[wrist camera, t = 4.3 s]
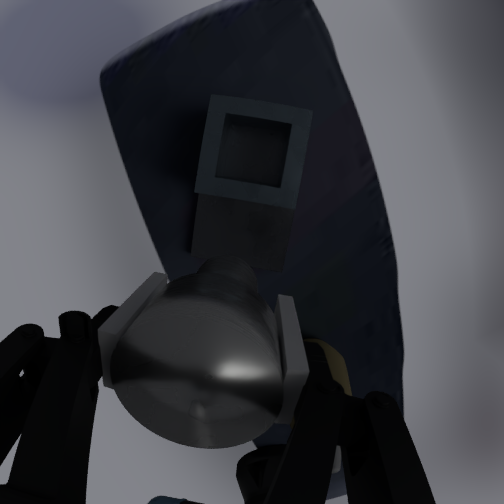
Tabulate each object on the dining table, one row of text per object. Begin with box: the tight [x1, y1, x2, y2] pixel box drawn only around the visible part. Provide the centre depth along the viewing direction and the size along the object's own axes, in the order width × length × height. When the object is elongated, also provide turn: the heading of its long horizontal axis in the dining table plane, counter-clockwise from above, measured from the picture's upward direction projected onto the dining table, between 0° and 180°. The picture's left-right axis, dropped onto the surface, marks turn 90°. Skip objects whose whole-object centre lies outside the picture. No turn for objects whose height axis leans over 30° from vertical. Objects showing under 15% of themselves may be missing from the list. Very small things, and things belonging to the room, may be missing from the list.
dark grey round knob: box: [110, 255, 284, 449], centre depth 14 cm, size 6×6×10 cm
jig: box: [191, 94, 313, 272], centre depth 28 cm, size 16×10×7 cm, turn 170°
